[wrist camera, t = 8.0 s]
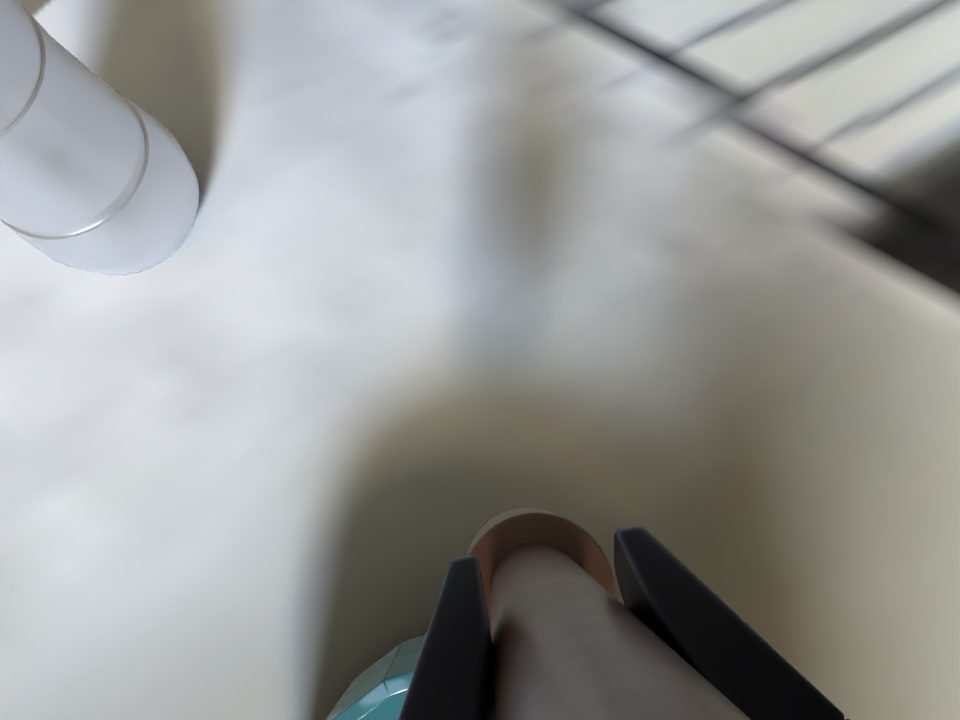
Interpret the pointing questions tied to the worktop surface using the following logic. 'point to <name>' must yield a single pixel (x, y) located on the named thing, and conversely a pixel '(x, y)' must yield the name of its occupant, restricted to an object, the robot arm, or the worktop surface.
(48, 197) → the plastic bottle
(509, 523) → the post
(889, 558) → the worktop surface
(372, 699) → the bowl
